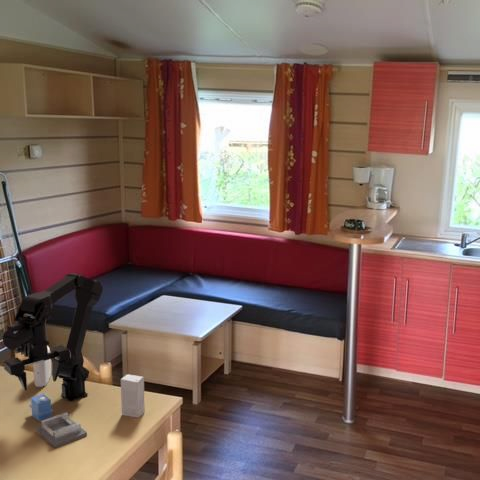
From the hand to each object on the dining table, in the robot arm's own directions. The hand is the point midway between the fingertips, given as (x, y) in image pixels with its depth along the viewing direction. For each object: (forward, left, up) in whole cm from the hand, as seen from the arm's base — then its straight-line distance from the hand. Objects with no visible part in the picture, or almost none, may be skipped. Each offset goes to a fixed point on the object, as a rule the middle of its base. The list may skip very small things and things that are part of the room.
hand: (40, 385), depth 181 cm
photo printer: (-11, -23, -10) cm, 27 cm away
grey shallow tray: (0, +13, -10) cm, 17 cm away
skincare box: (-22, +17, -10) cm, 30 cm away
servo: (0, 0, -10) cm, 10 cm away
